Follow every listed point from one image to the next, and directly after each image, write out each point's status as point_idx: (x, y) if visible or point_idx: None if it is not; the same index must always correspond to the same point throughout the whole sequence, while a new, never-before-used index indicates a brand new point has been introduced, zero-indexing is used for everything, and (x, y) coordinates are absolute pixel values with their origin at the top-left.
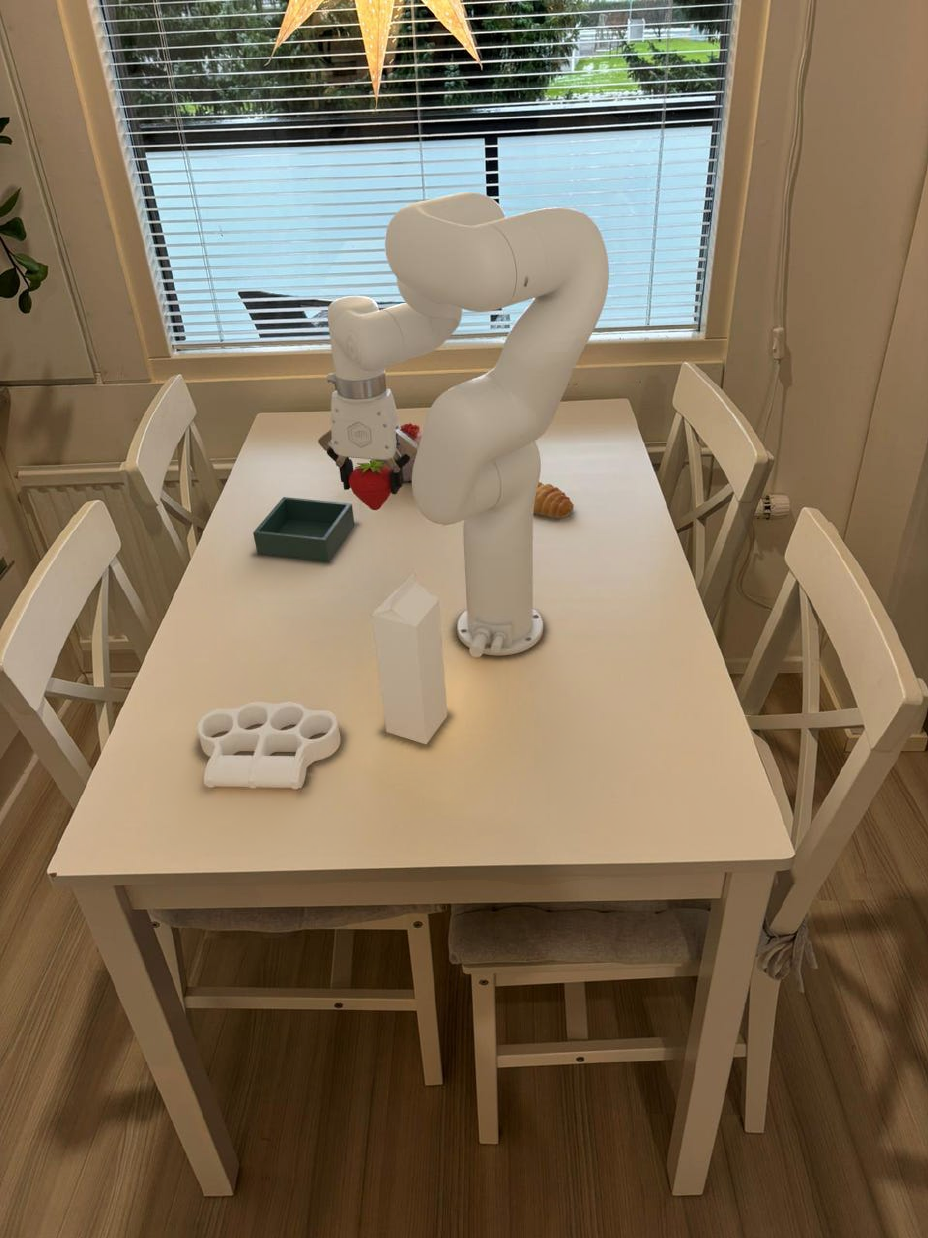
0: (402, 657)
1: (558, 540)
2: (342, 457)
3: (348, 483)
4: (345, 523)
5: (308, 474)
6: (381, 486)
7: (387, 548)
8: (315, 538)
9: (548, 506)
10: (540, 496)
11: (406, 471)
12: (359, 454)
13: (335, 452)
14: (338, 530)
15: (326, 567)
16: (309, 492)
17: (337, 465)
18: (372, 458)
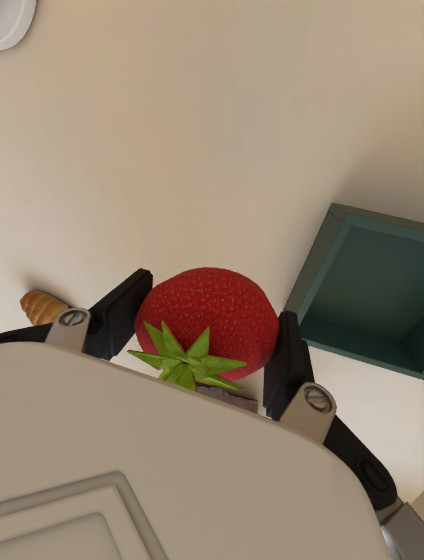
0: None
1: (22, 248)
2: (300, 426)
3: (280, 325)
4: (296, 298)
5: (350, 428)
6: (164, 283)
7: (225, 245)
8: (372, 222)
9: (39, 303)
10: (45, 318)
11: (215, 398)
12: (171, 411)
13: (355, 477)
14: (311, 272)
15: (337, 186)
16: (352, 395)
17: (325, 392)
18: (101, 363)
